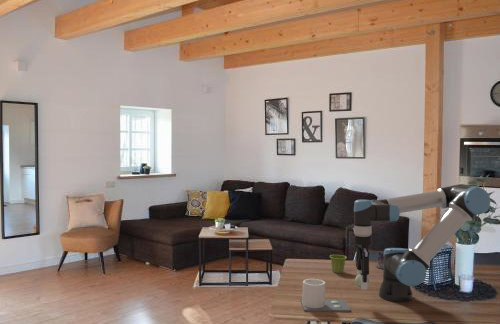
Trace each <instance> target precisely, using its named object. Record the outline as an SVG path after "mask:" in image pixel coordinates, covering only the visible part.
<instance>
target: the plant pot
mask: <svg viewBox="0 0 500 324" xmlns="http://www.w3.org/2000/svg"><path fill="white" fill-rule="evenodd" d="M329 258H330V262H331V271H332V272H333V273H335V274H343V273H344V270H345V264H346V260H347V258H348V257H347V255H343V254H330V255H329Z"/></svg>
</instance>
